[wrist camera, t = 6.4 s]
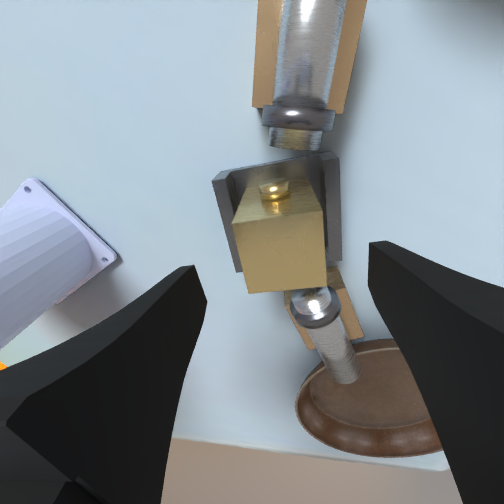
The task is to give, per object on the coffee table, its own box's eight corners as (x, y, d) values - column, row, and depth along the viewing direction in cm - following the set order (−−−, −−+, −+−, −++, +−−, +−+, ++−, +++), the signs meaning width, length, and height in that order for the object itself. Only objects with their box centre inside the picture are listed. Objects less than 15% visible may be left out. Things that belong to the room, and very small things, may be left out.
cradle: (334, 242, 18) (342, 260, 16) (240, 254, 20) (236, 272, 17) (330, 151, 15) (339, 157, 13) (220, 171, 17) (211, 180, 14)
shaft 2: (276, 268, 20) (276, 319, 15) (330, 249, 19) (349, 298, 14) (311, 335, 23) (319, 394, 18) (359, 323, 22) (382, 383, 17)
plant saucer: (277, 413, 31) (277, 442, 28) (321, 305, 22) (327, 332, 19) (419, 439, 31) (433, 471, 28) (519, 342, 22) (553, 374, 19)
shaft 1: (326, 141, 15) (348, 155, 10) (254, 135, 15) (243, 146, 11) (363, -51, 11) (429, -174, 6) (267, -56, 12) (259, -178, 7)
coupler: (313, 244, 18) (327, 298, 13) (258, 251, 19) (251, 305, 14) (306, 164, 15) (321, 192, 10) (243, 176, 16) (227, 207, 11)
